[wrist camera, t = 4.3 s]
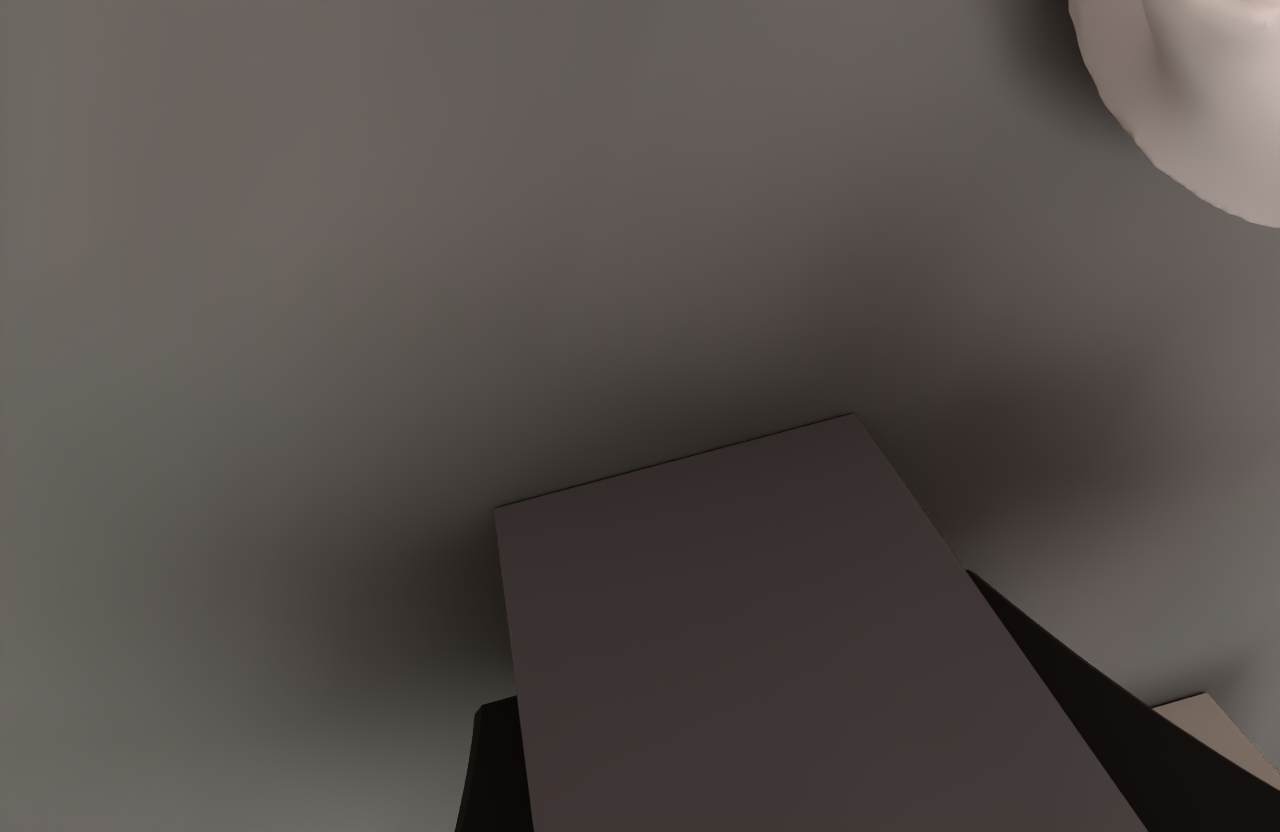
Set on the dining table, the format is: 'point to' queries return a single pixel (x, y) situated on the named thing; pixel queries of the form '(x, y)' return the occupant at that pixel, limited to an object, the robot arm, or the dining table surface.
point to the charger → (776, 657)
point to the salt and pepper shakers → (1194, 92)
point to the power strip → (1218, 734)
